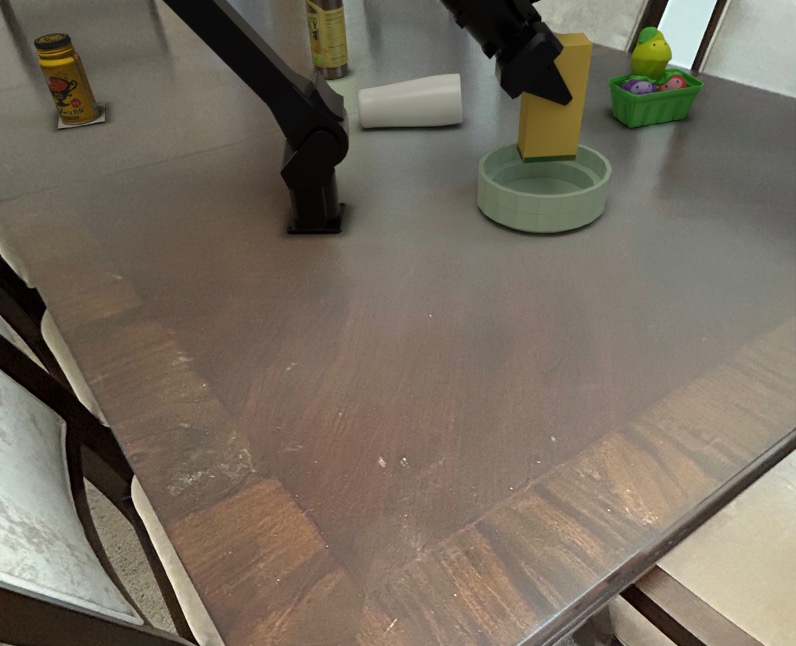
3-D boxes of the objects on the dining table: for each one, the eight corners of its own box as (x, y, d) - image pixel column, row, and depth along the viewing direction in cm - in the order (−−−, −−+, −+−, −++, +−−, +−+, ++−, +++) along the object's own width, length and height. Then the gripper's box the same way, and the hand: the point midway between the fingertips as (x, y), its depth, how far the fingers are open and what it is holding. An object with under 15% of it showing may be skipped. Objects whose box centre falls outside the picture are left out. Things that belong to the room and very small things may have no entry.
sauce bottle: (312, 70, 120) (295, -64, 106) (347, 66, 121) (334, -67, 107) (316, 82, 116) (299, -56, 102) (351, 78, 117) (339, -60, 103)
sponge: (522, 163, 76) (533, 47, 67) (516, 149, 79) (526, 35, 70) (575, 160, 76) (593, 44, 67) (567, 146, 79) (583, 32, 70)
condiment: (57, 130, 106) (24, 46, 97) (60, 111, 112) (29, 31, 103) (105, 122, 107) (76, 40, 99) (105, 104, 113) (78, 25, 105)
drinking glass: (360, 137, 98) (462, 127, 97) (354, 86, 95) (460, 74, 93) (364, 129, 104) (461, 119, 102) (359, 81, 100) (459, 70, 99)
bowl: (613, 237, 76) (622, 196, 72) (478, 238, 77) (480, 197, 73) (594, 176, 86) (600, 137, 83) (475, 178, 87) (477, 140, 84)
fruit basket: (626, 133, 95) (642, 46, 87) (596, 111, 101) (609, 28, 94) (697, 121, 97) (720, 35, 89) (664, 100, 103) (682, 18, 95)
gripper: (552, -76, 54) (656, 63, 62) (513, -110, 67) (603, 8, 75) (453, 37, 60) (561, 152, 67) (435, -14, 73) (526, 86, 81)
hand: (564, 94), depth 72 cm, fingers closed on sponge, 4 cm apart
